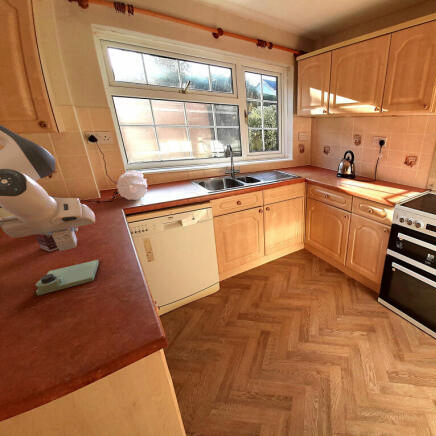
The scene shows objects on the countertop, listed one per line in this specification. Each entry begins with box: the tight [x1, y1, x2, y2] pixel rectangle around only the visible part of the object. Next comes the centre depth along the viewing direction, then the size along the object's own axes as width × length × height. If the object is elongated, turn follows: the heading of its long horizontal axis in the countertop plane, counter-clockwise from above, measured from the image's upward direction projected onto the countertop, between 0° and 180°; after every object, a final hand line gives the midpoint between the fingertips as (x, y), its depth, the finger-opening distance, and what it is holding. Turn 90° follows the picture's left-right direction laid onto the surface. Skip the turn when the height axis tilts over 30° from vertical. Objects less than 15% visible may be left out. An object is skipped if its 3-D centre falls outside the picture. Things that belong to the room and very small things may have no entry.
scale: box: [35, 259, 100, 296], centre depth 83 cm, size 14×14×3 cm
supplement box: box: [34, 234, 59, 252], centre depth 101 cm, size 9×5×16 cm, turn 65°
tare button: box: [40, 274, 55, 284], centre depth 77 cm, size 3×3×2 cm
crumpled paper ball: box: [115, 169, 148, 201], centre depth 171 cm, size 18×18×25 cm
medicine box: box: [51, 228, 78, 252], centre depth 80 cm, size 8×4×9 cm, turn 39°
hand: (63, 231), depth 81 cm, fingers closed on medicine box, 5 cm apart
